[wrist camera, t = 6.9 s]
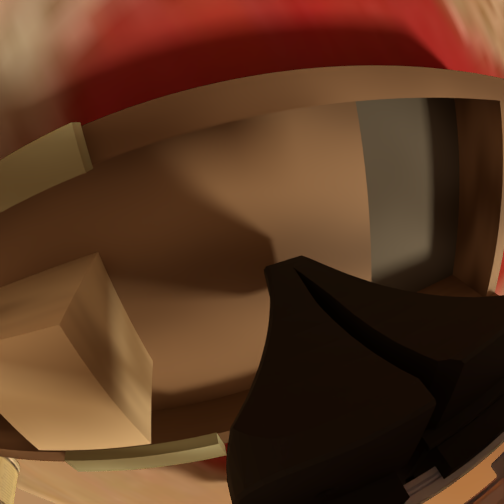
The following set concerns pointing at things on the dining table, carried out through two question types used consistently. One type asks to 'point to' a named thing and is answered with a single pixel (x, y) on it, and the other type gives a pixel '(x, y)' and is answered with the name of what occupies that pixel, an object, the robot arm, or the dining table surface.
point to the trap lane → (256, 219)
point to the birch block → (73, 361)
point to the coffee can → (8, 479)
